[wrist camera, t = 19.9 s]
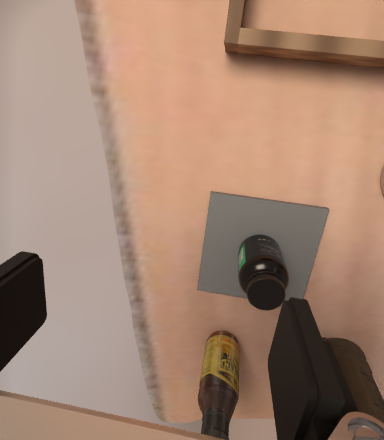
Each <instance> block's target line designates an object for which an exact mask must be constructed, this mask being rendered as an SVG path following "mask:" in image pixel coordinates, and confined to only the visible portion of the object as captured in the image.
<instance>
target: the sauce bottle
mask: <svg viewBox="0 0 384 440" xmlns="http://www.w3.org/2000/svg"><path fill="white" fill-rule="evenodd" d="M238 395H239V347H238V341H237V340H236V337H234V336H233V335H232V334H230V333H228V332H226V331H218V332H215V333H213V334H212V335H210V337H209V338H208V340H207V343H206V348H205V354H204V360H203V366H202V372H201V378H200V389H199V394H198V403H199V407H200V410H201V412H202V414H203V418H202V421H203V423H202V430H201V434H204V435H208V436H212V437H216V438H220V439H224V440H229V438H228V435H229V434H228V432H229V423H230V420H231V417H232V414H233V412H234V409H235V406H236V404H237V401H238Z"/></svg>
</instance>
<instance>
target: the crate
mask: <svg viewBox="0 0 384 440" xmlns="http://www.w3.org/2000/svg"><path fill="white" fill-rule="evenodd" d="M244 5H245V0H230V1H229V9H228V17H227V24H226V32H225V40H224V45H225V51H226V52H231V53H241V54H251V55H261V56H271V57H280V58H290V59H300V60H310V61H320V62H330V63H340V64H350V65H360V66H370V67H380V68H384V41H378V40H367V39H356V38H345V37H335V36H324V35H313V34H302V33H292V32H281V31H270V30H259V29H249V28H241V26H242V19H243V12H244Z"/></svg>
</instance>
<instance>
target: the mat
mask: <svg viewBox="0 0 384 440" xmlns="http://www.w3.org/2000/svg"><path fill="white" fill-rule="evenodd" d="M328 212H329V209H328V208H326V207H319V206H312V205H304V204H297V203H290V202H283V201H276V200H269V199H262V198H255V197H248V196H241V195H234V194H227V193H220V192H213V191H211V194H210V201H209V208H208V215H207V223H206V230H205V237H204V245H203V252H202V259H201V267H200V274H199V281H198V288H197V290H201V291H206V292H212V293H218V294H224V295H230V296H235V297H241V298H247V295H246V294H245V293H244V292H243V290H242V289H241V287H240V284H239V279H238V250H239V247H240V245H241V243H242V242H243V241H244V240H245V239H246V238H248V237H250V236H253V235H258V234H261V235H267V236H269V237H271V238H273V239H274V240H275V241H276V242H277V243H278V245H279V247H280V249H281V252H282V255H283V258H284V261H285V264H286V267H287V270H288V274H289V284H288V287H287V289H286V290H285V293H286V295H285V299H284V300H287V301H288V300H289V298H290V297H293V298H299V299H303V297H304V294H305V291H306V287H307V284H308V280H309V277H310V274H311V270H312V267H313V263H314V260H315V257H316V253H317V250H318V246H319V243H320V239H321V236H322V233H323V229H324V226H325V222H326V219H327V216H328ZM247 299H248V298H247ZM282 304H283V303H282Z"/></svg>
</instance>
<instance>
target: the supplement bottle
mask: <svg viewBox="0 0 384 440" xmlns="http://www.w3.org/2000/svg"><path fill="white" fill-rule="evenodd" d="M238 279H239V284H240V287H241V289H242V290H243V292H244V293H245V294H246V295H247V298H248V300H249V302H250V303H251V304H252V305H253V306H254V307H256V308H258V309H262V310H272V309H275V308H277V307H278V306H280V305H281V304H282V303H283V301H284V299H285V295H286V293H285V290H286V289H287V287H288V284H289V274H288V270H287V267H286V264H285V261H284V258H283V255H282V252H281V249H280V247H279V245H278V243H277V242H276V241H275V240H274V239H273V238H271V237H269V236H267V235H261V234H258V235H253V236H250V237H248V238H246V239H245V240H244V241H243V242H242V243H241V245H240V247H239V250H238Z"/></svg>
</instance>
